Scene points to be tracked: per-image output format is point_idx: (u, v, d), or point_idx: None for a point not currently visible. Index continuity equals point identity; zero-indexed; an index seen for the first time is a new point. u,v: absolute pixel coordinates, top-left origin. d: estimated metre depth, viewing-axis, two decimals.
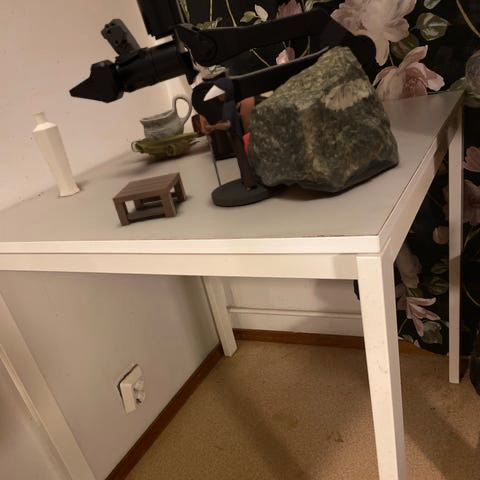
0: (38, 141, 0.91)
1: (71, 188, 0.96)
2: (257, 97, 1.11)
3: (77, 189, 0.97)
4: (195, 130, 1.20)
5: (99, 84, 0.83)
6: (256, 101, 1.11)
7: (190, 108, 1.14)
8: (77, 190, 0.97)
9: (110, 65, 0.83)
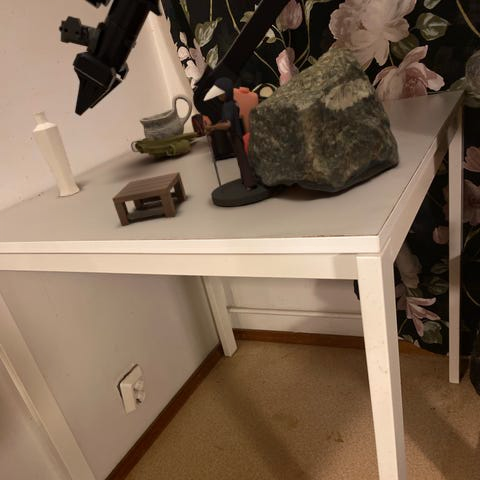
0: (38, 141, 0.91)
1: (71, 188, 0.96)
2: None
3: (77, 189, 0.97)
4: (195, 130, 1.20)
5: (90, 75, 0.80)
6: None
7: (190, 108, 1.14)
8: (77, 190, 0.97)
9: None
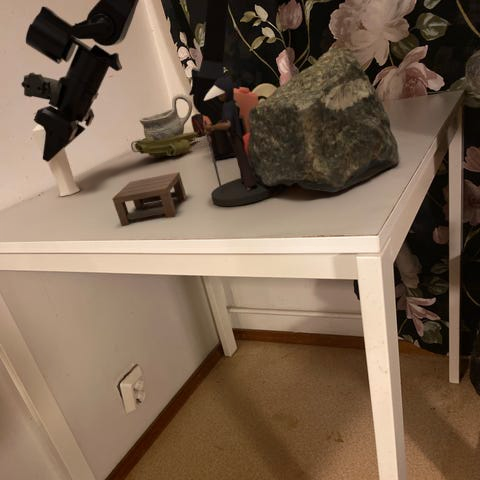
0: (38, 140, 0.92)
1: (71, 188, 0.96)
2: None
3: (77, 189, 0.97)
4: (195, 130, 1.20)
5: (51, 129, 0.83)
6: None
7: (190, 108, 1.14)
8: (77, 190, 0.97)
9: (47, 107, 0.83)
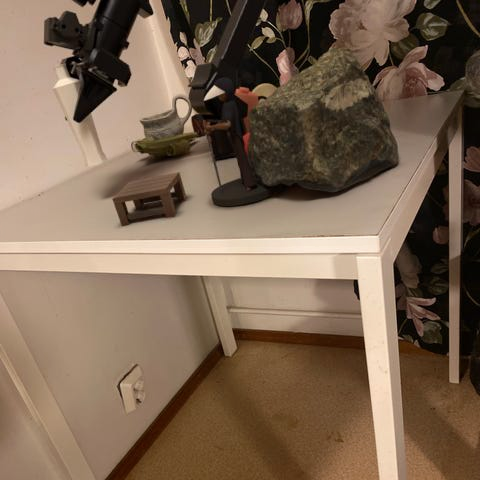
0: (63, 99, 0.77)
1: (101, 156, 0.82)
2: None
3: (106, 157, 0.83)
4: (195, 130, 1.20)
5: (110, 72, 0.71)
6: None
7: (190, 108, 1.14)
8: (106, 158, 0.83)
9: None
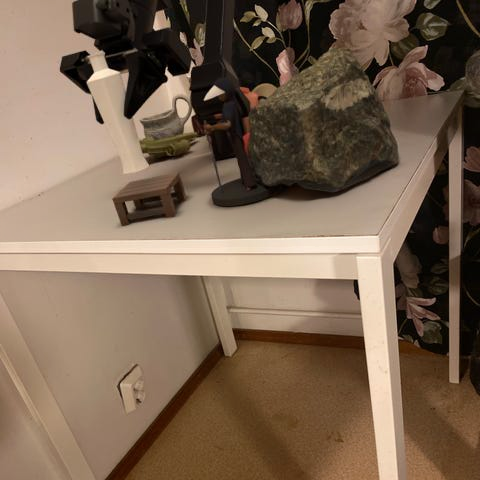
0: (110, 92, 0.65)
1: None
2: None
3: None
4: (195, 130, 1.20)
5: (179, 55, 0.64)
6: None
7: (190, 108, 1.14)
8: None
9: None
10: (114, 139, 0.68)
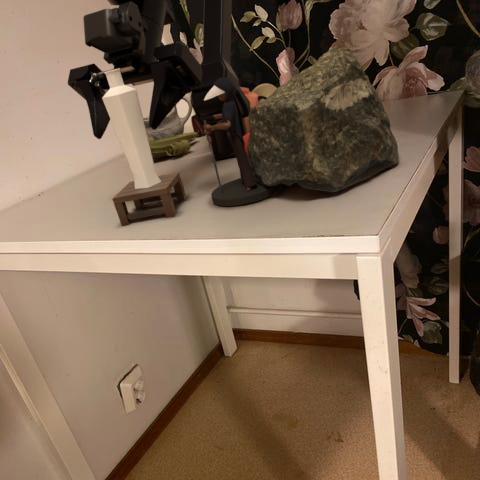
0: (125, 108, 0.65)
1: None
2: None
3: None
4: (195, 130, 1.20)
5: (191, 68, 0.64)
6: None
7: (190, 108, 1.14)
8: None
9: None
10: (127, 154, 0.69)
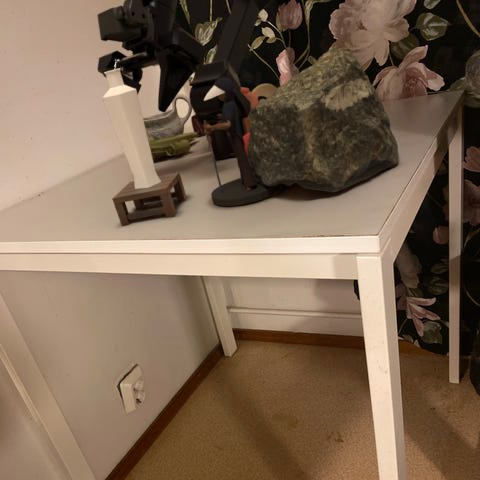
0: (125, 108, 0.65)
1: None
2: None
3: None
4: (195, 130, 1.20)
5: (191, 52, 0.70)
6: None
7: (190, 108, 1.14)
8: None
9: (175, 29, 0.69)
10: (127, 154, 0.69)
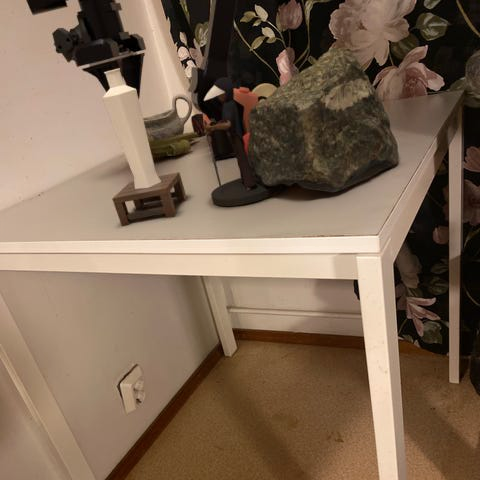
0: (125, 108, 0.65)
1: None
2: None
3: None
4: (195, 130, 1.20)
5: (93, 60, 0.76)
6: None
7: (190, 108, 1.14)
8: None
9: None
10: (127, 154, 0.69)
